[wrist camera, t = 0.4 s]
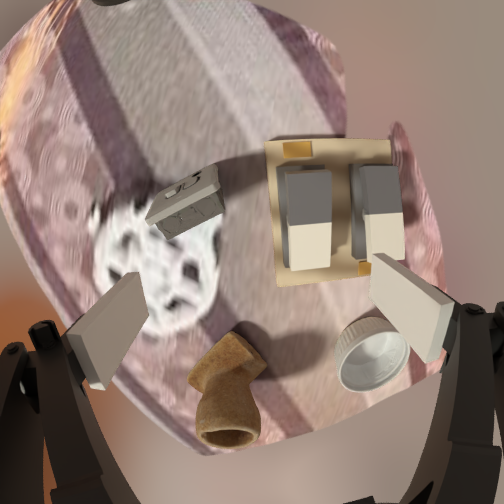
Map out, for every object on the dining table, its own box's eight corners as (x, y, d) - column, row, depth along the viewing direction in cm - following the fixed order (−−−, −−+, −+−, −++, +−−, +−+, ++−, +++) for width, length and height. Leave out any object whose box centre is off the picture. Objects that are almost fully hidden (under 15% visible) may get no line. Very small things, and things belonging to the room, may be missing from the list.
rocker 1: (283, 170, 31) (287, 174, 28) (325, 168, 31) (331, 171, 28) (288, 261, 36) (291, 271, 34) (325, 257, 36) (329, 266, 34)
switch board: (263, 142, 35) (266, 139, 31) (383, 140, 35) (396, 138, 31) (276, 281, 41) (279, 292, 37) (385, 267, 41) (396, 276, 37)
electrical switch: (215, 162, 36) (209, 167, 27) (232, 195, 38) (231, 210, 29) (157, 193, 37) (135, 208, 28) (174, 224, 38) (158, 247, 30)
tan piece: (231, 402, 48) (228, 464, 34) (180, 374, 46) (163, 436, 32) (284, 358, 45) (297, 424, 31) (230, 323, 43) (225, 389, 28)
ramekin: (313, 355, 45) (322, 381, 39) (360, 297, 42) (377, 318, 36) (362, 376, 48) (374, 399, 41) (405, 326, 44) (423, 346, 38)
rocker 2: (356, 169, 33) (363, 166, 30) (389, 168, 33) (397, 166, 30) (364, 260, 34) (372, 263, 32) (396, 256, 34) (404, 259, 32)
